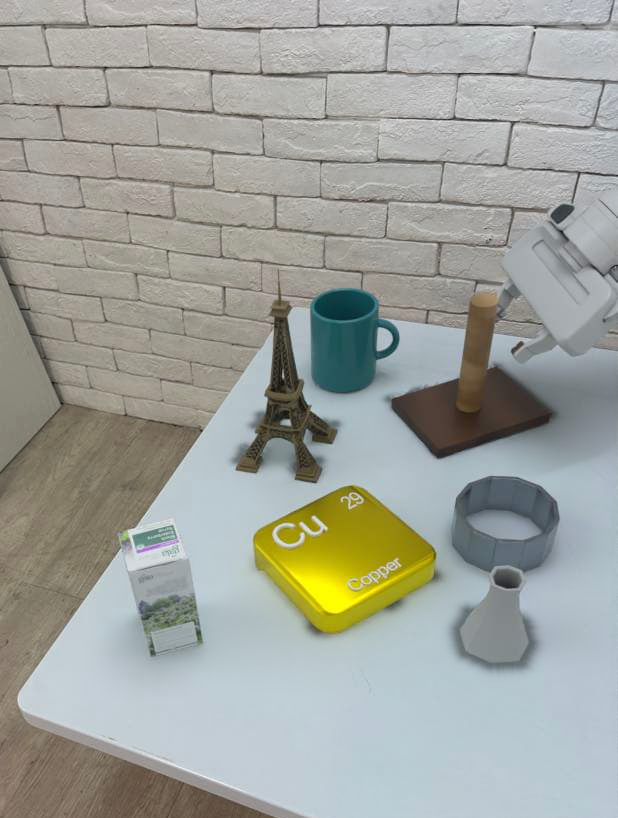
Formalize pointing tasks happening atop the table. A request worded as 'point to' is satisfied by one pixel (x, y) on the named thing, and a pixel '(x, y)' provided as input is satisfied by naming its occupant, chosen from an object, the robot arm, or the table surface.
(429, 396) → the board
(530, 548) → the ring
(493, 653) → the flask
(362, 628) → the table surface
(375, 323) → the cup
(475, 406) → the stick
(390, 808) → the table surface
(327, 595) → the element tile
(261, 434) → the eiffel tower
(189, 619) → the syrup box
